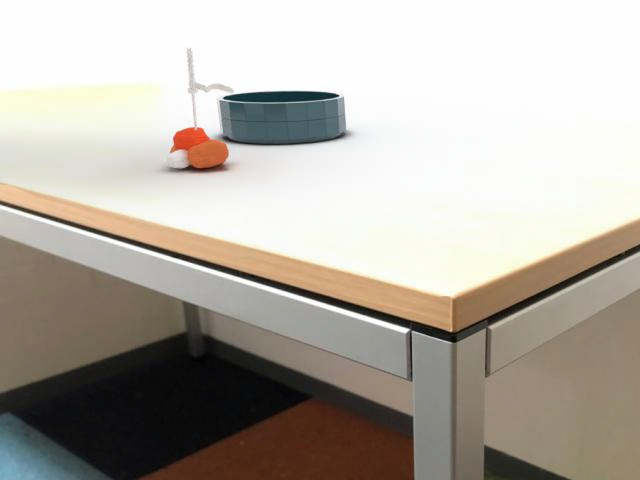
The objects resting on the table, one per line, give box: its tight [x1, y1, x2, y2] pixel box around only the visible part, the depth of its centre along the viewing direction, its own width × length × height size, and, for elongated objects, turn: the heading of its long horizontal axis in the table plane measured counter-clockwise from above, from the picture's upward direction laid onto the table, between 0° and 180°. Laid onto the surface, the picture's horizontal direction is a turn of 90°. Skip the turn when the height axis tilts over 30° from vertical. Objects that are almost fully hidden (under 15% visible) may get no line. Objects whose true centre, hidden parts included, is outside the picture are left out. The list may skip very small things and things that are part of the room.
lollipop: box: [165, 47, 235, 169], centre depth 76 cm, size 6×10×12 cm, turn 57°
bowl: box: [216, 90, 347, 145], centre depth 99 cm, size 16×16×5 cm
